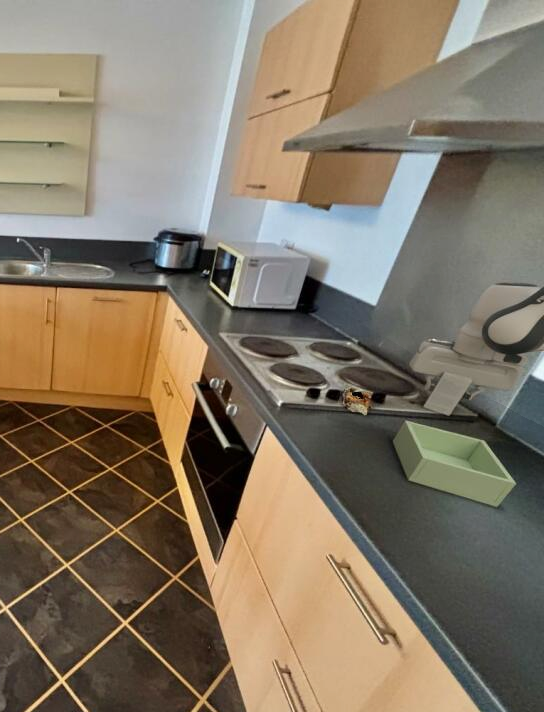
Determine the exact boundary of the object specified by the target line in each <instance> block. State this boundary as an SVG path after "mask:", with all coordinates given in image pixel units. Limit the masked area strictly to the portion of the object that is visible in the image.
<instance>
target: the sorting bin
mask: <svg viewBox="0 0 544 712" xmlns="http://www.w3.org/2000/svg"><path fill="white" fill-rule="evenodd" d="M392 443H393V446H394V448H395V451H396V454H397V457H398V458H399V461H400V463H401V466H402V469H403V471H404V473H405V476H406V479H407V480H408V482H409V481H410V482H413V483H416V484H420V485H423V486H427V487H429V488H433V489H436V490H440V491H443V492H446V493H449V494H453V495H456V496H460V497H463V498H467V499H470V500H473V501H475V502H479V503H483V504H486V505H488V506H489V505H490V506H492V507H496V508H497V507H499V505H501V503H502V502H503V500H504V499H505V498H506V497H507V496H508V495H509V493H510V492H511V491H512V489H514V487H515V486H516V485H517V483H516V481H515V480H514V478H513V477H512V475H510V473H509V472H508V471H507V469H506V467H505V466H504V465H503V463H502V462H501V461H500V459H499V458H498V457H497V456H496V454H495V453H494V452H493V450H492V449H491V447H490V446H489V445H488V443H487V442H486V441H485V440H484V439H479V438H475V437H472V436H468V435H463V434H460V433H457V432H452V431H448V430H444V429H440V428H437V427H432V426H428V425H425V424H420V423H417V422H414V421H409V420H404V422H403V423H402V425H401V427H400V428H399V430H398V431H397V433H396V435H395V437H394V438H393V440H392Z"/></svg>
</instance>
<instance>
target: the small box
mask: <svg viewBox="0 0 544 712" xmlns="http://www.w3.org/2000/svg"><path fill="white" fill-rule="evenodd" d="M472 380H473V379H472V378H469V377H465V376H461V375H456V374H451V373H446V372H444V373H443V375H442V376H441V377H439V379H438V381H437V382H436V384H435V388H434V389H433V391H431V393H430V394H429V396H428V398H427V399H426V401H425V403H424V404H423V406H422V407H423V408H425V409H428V410H431V411H433V412H436V413H440V414H443V415H446V416H450V415H451V414H452V413H453V411H454V409H455V408H456V406H457V405H458V404H459V402H460V400H461V399H462V396H463V394H464V393H465V391H468V388H469V387H470V386H471V385H472V384H471V382H472Z"/></svg>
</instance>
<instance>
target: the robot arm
mask: <svg viewBox="0 0 544 712" xmlns="http://www.w3.org/2000/svg"><path fill="white" fill-rule="evenodd" d="M535 352H544V286H542V287H540V286H538V285H536V284H532V283H528V282H527V283H525V282H497V283H494V284H492V285H491V286H489V287H487V289H486V290H485V291H484V292H483V293H482V295H481V296H480V297H479V299H477V301H476V303H475V304H474V306H473V308H472V309H471V311H470V313H469V316H468V319H467V322H466V323H465V324H464V325H463V326H462V327H461V328H460V330H459V331H458V333H457V335H456V336H455V337H454V339H453V341H451V340H442V339H438V338H430V339H425V340H423V341H422V342H420V343H419V346H418V347H417V352H416V353H415V354H414V355H413V357H412V359H410V361H409V367H410V369H411V370H412V372H414V373H420V374H424V378H425V381H426V383H425V384H424V387H423V389H424V391H427V392H432V391H433V389H434V388H435V386H436V384H435V383H432V380H435V378H436V377H438V378H441V376H442V375H443V373H444V372H446V373H451V374H456V375H461V376H465V377H469V378H472V379H473V380H472V382H471V384H470V385H473V386H474V388H472V389H471V390H469V391H468V390H466V391H465V393H464V394H463V396H462V397H461V399H462V400H466V401H472V400H473V398H474V397H475V396H476V395H478V394H481V393H483V392H484V391H485V390H486V389H487V388H488V389H494V390H498V391H502V392H508V391H512V390H513V389H515V387H516V386H517V384H518V383H519V381H520V379H521V377H522V375H523V372H524V369H523V367H522V366H524V365H525V364H527V362H528V360H529V359H528V357H527V356H526V355H525V354H527V353H535Z"/></svg>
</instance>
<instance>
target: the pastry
mask: <svg viewBox="0 0 544 712" xmlns="http://www.w3.org/2000/svg"><path fill="white" fill-rule="evenodd" d="M340 391H341V394H340V395H339V396H341V395H342V398H343V401H342V402H341V403H342V404H343V405H344V407H345V408H346V409H347V410H349V411H350V412H353V413H360V414H362V415H364V416H367V414H368V409H369V408H370V409H371V410H373V406H372V403H371V398H372V392H370V391H364V390H363V389H362V388H354V387H353V386H351V385H349V386H348V387H346V388H344V389H343V390H340ZM353 391H354V392H361V393H362V395H363V399H361V398H360V397H358V396H353V395H352V392H353ZM359 398H360V399H359Z"/></svg>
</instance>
